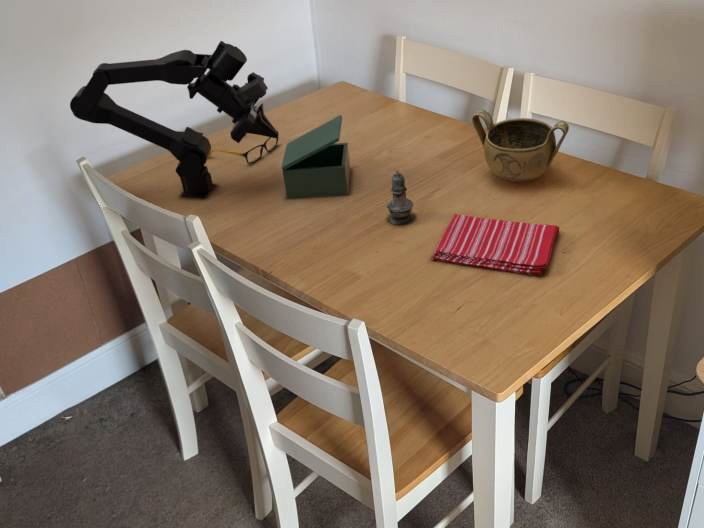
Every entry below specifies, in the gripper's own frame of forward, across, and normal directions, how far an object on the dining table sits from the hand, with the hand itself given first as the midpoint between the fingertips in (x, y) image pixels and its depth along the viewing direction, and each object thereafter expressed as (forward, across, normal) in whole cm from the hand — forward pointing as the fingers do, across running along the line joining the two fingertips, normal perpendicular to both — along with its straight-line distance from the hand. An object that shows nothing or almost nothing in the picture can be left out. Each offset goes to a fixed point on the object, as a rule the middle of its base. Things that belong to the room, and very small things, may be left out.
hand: (277, 136), depth 187 cm
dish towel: (+44, -32, -25) cm, 60 cm away
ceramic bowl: (+49, -2, -30) cm, 58 cm away
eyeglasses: (0, +20, +19) cm, 28 cm away
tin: (+15, 0, +4) cm, 16 cm away
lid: (+7, 0, -4) cm, 8 cm away
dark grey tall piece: (+29, -18, -10) cm, 36 cm away
